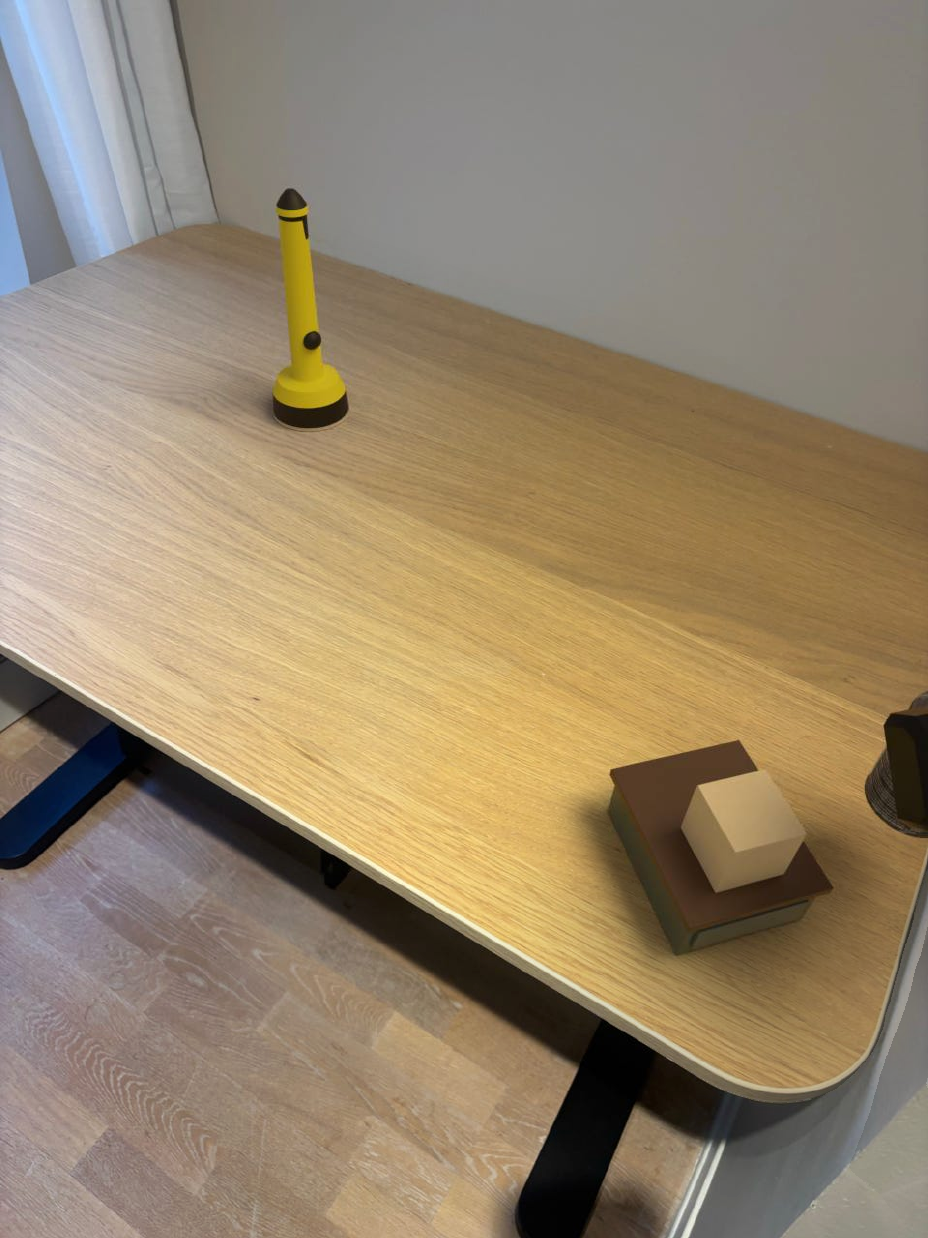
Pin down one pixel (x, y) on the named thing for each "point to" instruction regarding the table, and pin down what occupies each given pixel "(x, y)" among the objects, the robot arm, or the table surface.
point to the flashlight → (303, 334)
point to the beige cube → (742, 830)
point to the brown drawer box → (670, 869)
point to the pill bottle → (889, 787)
